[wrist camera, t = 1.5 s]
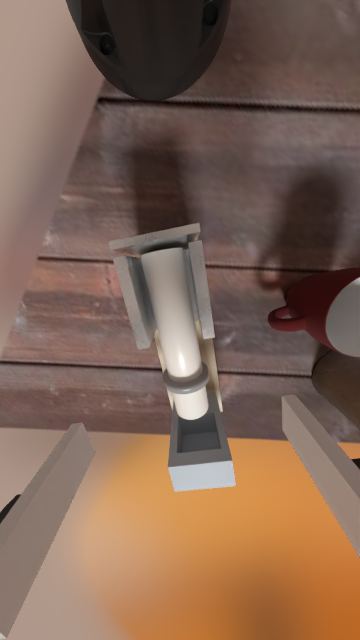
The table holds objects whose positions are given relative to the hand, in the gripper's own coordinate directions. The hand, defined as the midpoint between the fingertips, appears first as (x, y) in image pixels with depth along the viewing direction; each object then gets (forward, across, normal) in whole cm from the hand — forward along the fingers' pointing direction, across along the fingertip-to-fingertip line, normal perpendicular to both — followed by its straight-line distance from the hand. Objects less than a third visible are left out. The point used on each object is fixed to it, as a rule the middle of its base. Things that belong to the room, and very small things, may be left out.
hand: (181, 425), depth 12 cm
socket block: (+15, 0, -12) cm, 20 cm away
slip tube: (+11, 0, +2) cm, 11 cm away
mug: (+16, +16, +2) cm, 23 cm away
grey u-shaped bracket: (+15, 0, +8) cm, 17 cm away
